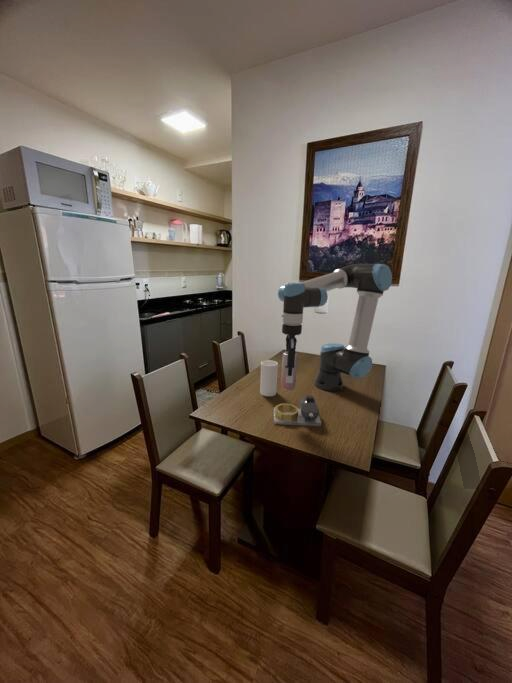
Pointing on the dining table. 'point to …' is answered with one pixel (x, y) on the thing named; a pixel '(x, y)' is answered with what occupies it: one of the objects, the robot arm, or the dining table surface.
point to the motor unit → (298, 413)
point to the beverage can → (283, 374)
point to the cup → (268, 378)
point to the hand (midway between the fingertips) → (288, 379)
